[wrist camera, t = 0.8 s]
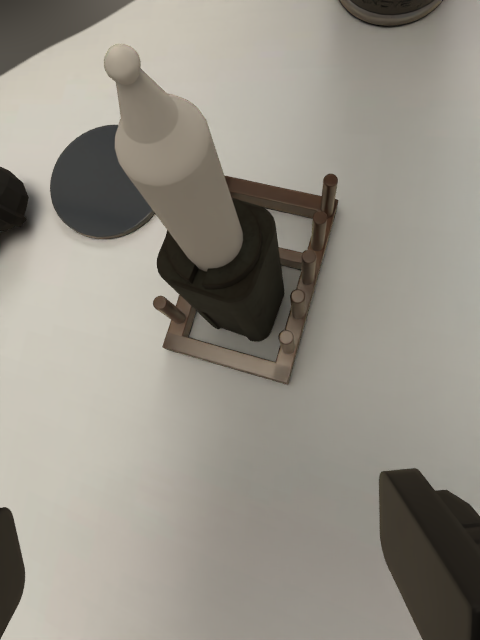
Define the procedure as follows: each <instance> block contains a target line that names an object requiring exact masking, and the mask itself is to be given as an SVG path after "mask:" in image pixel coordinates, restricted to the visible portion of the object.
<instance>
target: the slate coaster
mask: <svg viewBox="0 0 480 640" xmlns="http://www.w3.org/2000/svg"><path fill="white" fill-rule="evenodd" d="M117 128H118V125H107V126H102V127H98V128H95V129H92V130H90V131H88V132H86V133H84V134H82V135H81V136H79V137H77V138H76V139H75V140H74V141H73V142H71V143H70V144H69V145H68V146H67V147H66V149H65V150H64V151H63V152H62V154H61V155H60V157H59V158H58V160H57V162H56V164H55V167H54V169H53V173H52V177H51V184H50V192H51V199H52V203H53V206H54V208H55V210H56V212H57V214H58V216H59V217H60V218H61V219H62V221H63V222H64V223H65V224H66V225H68V226H69V227H70V228H71V229H73V230H74V231H76V232H77V233H79V234H81V235H84V236H87V237H90V238H96V239H111V238H117V237H121V236H124V235H127V234H129V233H131V232H133V231H135V230H136V229H138V228H140V227H141V226H142V225H144V224H145V223H146V222H147V221H148V220H149V219H150V218H151V217H152V216H153V215H154V214H155V212H154V211H153V210H152V208H151V207H150V206H149V204H148V203H147V201H146V200H145V199H144V197H143V196H142V195H141V193H140V192H139V191H138V189H137V188H136V187H135V185H134V184H133V183H132V181H131V180H130V178H129V177H128V176H127V174H126V173H125V172H124V170H123V168H122V167H121V165H120V164H119V162H118V158H117V154H116V151H115V135H116V132H117Z"/></svg>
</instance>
